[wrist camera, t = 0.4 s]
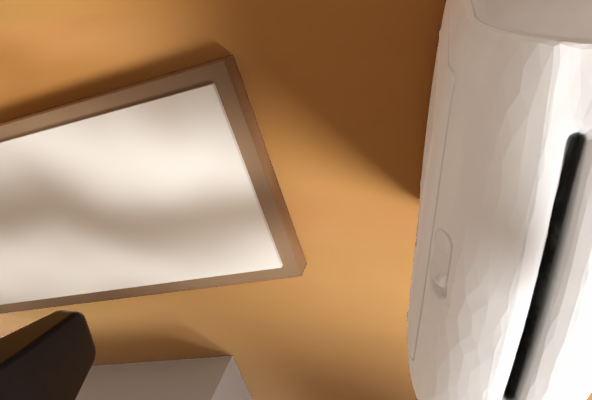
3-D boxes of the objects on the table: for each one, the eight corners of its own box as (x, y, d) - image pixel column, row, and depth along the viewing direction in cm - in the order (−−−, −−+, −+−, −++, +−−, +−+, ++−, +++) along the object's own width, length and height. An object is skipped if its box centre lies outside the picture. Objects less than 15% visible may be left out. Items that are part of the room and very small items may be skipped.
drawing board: (306, 263, 25) (300, 278, 24) (-4, 304, 32) (-19, 317, 31) (232, 55, 21) (222, 62, 20) (-102, 153, 28) (-123, 162, 27)
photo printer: (522, 230, 22) (594, 532, 11) (414, 217, 23) (386, 485, 12) (588, -49, 17) (832, 12, 6) (447, -52, 18) (451, -2, 7)
